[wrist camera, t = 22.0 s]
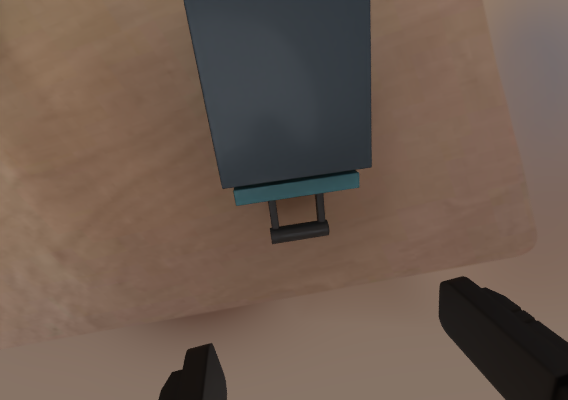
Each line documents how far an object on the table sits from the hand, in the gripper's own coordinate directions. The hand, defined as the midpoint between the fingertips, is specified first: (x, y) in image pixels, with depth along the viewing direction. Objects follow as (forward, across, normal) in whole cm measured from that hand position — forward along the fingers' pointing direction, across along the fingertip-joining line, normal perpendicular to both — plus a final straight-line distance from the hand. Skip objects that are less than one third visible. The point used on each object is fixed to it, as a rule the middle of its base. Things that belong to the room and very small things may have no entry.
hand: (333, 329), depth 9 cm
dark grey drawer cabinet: (+20, +2, +8) cm, 22 cm away
